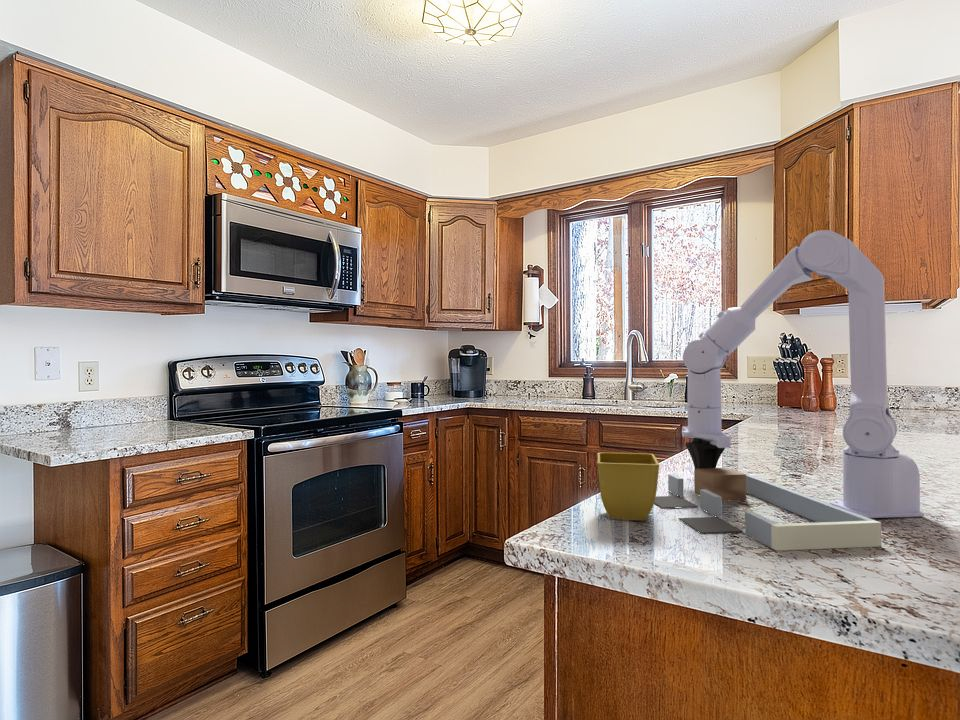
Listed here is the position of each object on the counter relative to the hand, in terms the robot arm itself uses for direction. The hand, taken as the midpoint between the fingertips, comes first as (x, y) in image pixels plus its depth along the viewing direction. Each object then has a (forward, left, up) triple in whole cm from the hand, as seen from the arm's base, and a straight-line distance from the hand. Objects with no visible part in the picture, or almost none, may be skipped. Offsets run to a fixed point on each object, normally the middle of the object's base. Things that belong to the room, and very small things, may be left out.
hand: (705, 481), depth 103 cm
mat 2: (+10, +21, -1) cm, 24 cm away
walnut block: (0, +5, -2) cm, 6 cm away
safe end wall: (0, +32, -1) cm, 32 cm away
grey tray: (0, +16, -1) cm, 16 cm away
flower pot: (+20, +15, -2) cm, 25 cm away
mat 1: (+10, +8, -1) cm, 13 cm away
